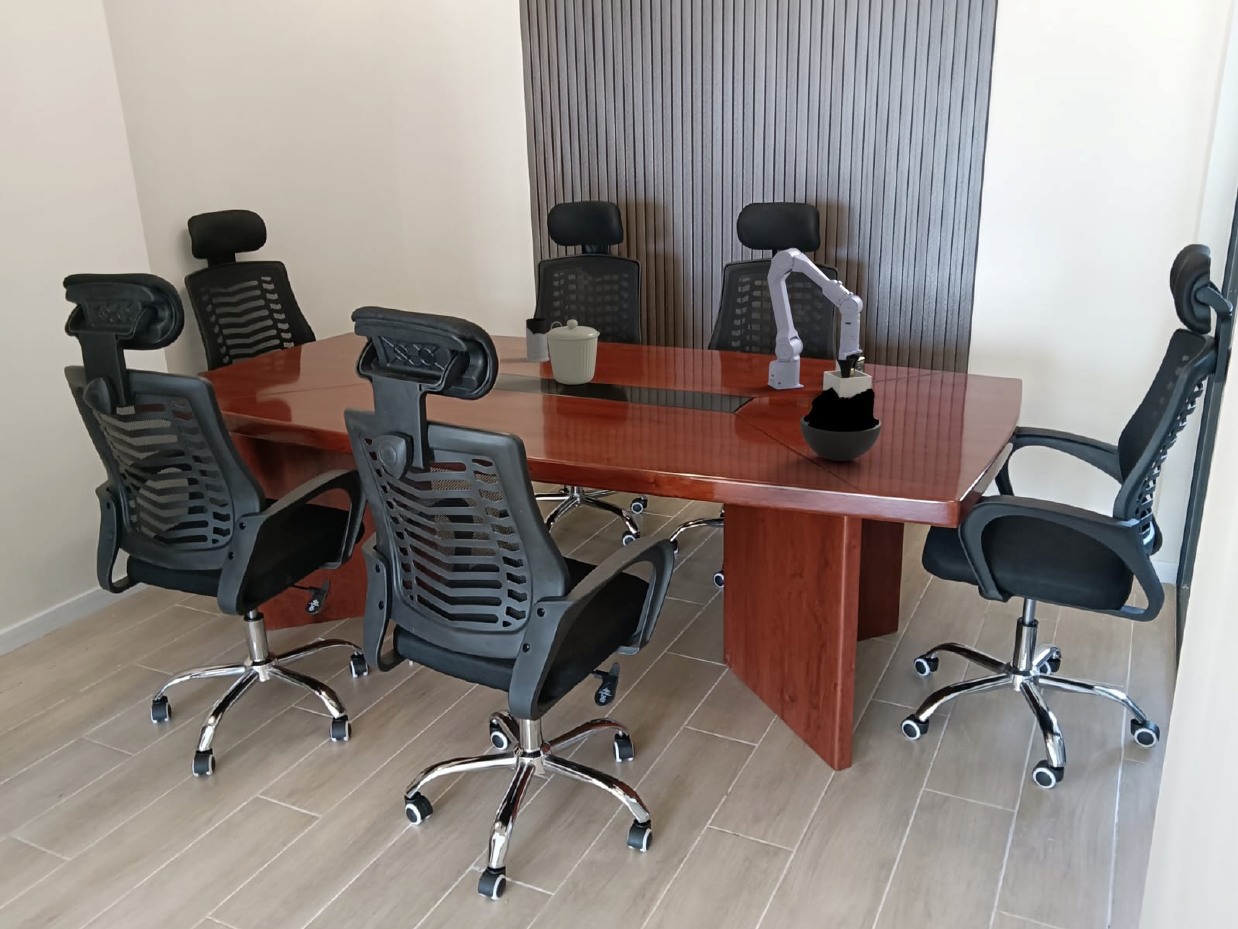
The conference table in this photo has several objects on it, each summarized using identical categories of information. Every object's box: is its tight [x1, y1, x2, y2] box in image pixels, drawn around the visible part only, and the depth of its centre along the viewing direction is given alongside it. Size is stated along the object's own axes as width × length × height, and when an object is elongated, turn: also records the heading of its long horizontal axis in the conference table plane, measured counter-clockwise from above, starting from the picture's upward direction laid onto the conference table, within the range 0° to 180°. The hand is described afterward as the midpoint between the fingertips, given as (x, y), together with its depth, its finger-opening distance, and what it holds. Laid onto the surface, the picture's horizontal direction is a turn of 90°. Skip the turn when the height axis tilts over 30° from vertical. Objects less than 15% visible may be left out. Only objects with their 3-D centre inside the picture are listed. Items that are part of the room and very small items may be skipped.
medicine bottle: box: [835, 344, 866, 373], centre depth 337 cm, size 7×7×12 cm
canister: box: [545, 319, 601, 385], centre depth 338 cm, size 18×18×21 cm
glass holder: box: [525, 317, 563, 363], centre depth 374 cm, size 9×14×15 cm, turn 107°
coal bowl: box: [799, 387, 882, 462], centre depth 252 cm, size 20×20×19 cm
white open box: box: [822, 369, 873, 398], centre depth 320 cm, size 11×11×6 cm
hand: (847, 377), depth 319 cm, fingers closed on plunger, 4 cm apart
